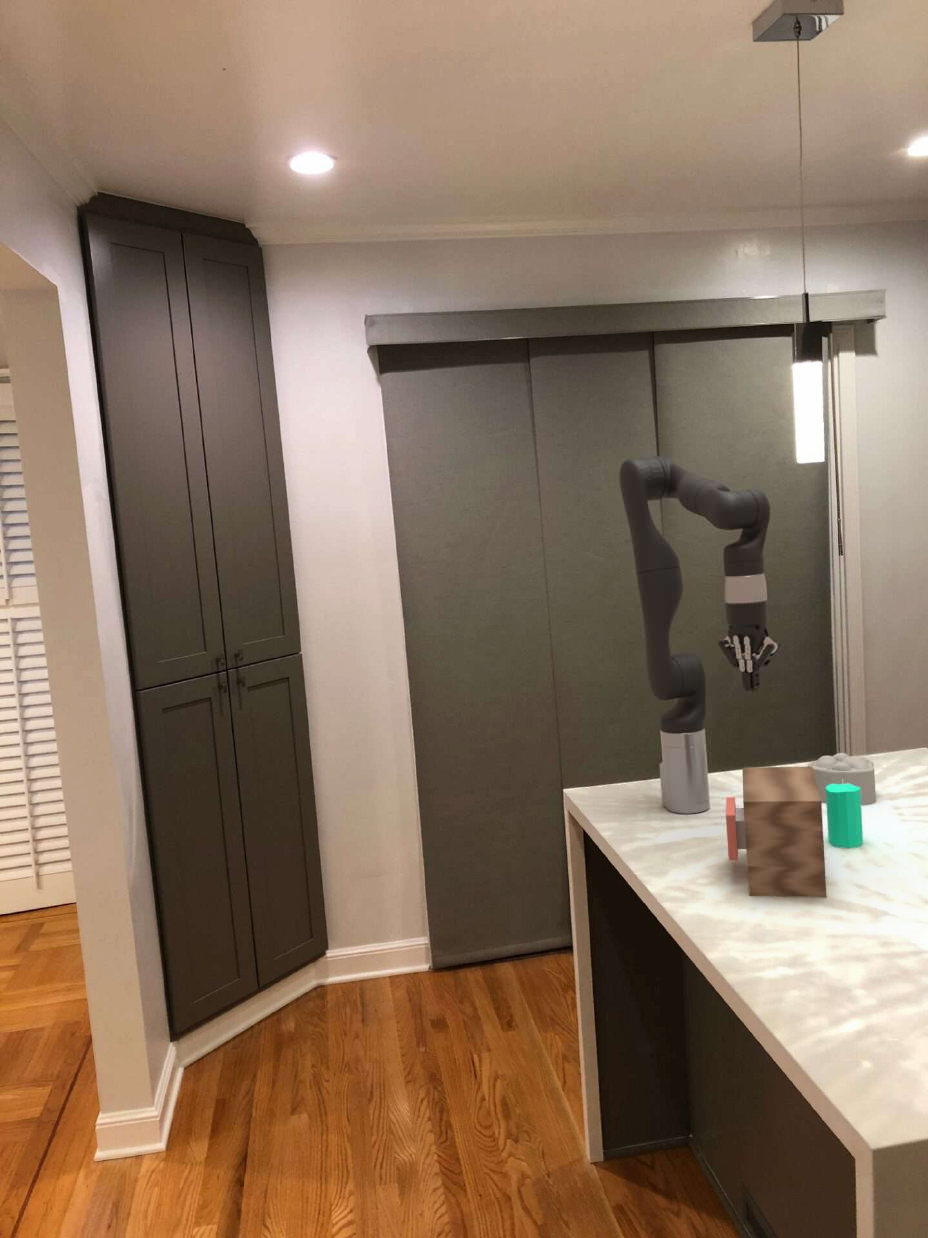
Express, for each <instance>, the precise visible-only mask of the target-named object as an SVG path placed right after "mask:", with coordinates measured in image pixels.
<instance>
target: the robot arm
mask: <svg viewBox="0 0 928 1238" xmlns="http://www.w3.org/2000/svg"><path fill="white" fill-rule="evenodd" d="M619 487H620V493H621V497H622V503H623V505H624V509H625V514H626V519H627V522H628V527H629V531H630V537H631V542H632V543H631V544H632V549H633V556H634V566H635V573H636V581H637V588H638V589H637V590H638V592H639V593H638V594H639V598H640V606H641V611H642V619H643V620H642V621H643V627H644V636H645V637H644V638H645V639H644V640H645V655H646V657H645V658H646V659H645V660H646V669H647V679H648V684H649V688H650V690H651V692H652V694H653V696H654V697H655V699H658V700H660V701H670V700H674V699H677V701H676V703H675V704H674V705H673V706H672V707H671V708H670V709H669V710H668V711H666V712H665V713H663V714H662V715H661V716H660V718H659V731H660V743H661V758H662V762H659V775H660V788H661V789H660V790H661V803H662V805H661V806H662V807H665V808H666V810H668V811H669V812H672V813H677V814H696V813H701V812H705V811H707V810H709V809H710V808H711V803H710V801H711V800H710V786H709V774H708V772H709V770H708V757H707V744H706V743H707V742H706V730H705V720H706V716H707V680H706V679H707V677H706V672H705V667H704V664H703V661H702V659H701V658H700V657H699V655H697V654H696V653H695V652H690V651H689V652H680V653H674V654H671V651H670V632H671V629H672V628H671V627H672V624H673V621H674V618H675V615H676V614H677V611H678V609H679V607H680V603H681V600H682V598H683V593H684V585H683V577H682V569H681V563H680V562H681V561H680V560H679V557H678V555H677V553H676V552H675V550H674V548H672V546H671V545H670V544H669V542H668V541H667V540H666V538H665V537H664V536H663V535H662V533H661V532H660V531H659V529H658V528H657V526H656V525H655V523H654V519H653V518H652V515H651V511H650V507H649V503H648V502H650V501H658V500H659V501H660V500H663V499H678V502H679V503H680V505H681V506H682V507H683V508H684V509H686V510H687V511H689V512H690V513H692V514H695V515H697V516H700V517H703V518H705V519H706V520H707V521H708V522H709V523H710V524H711V525H712V526H713V527H715V528H716V529H719V530H725V531H734V530H741V533H740V536H739V538H738V539H737V540H736V541H734V542H731V543H728V544H727V545H726V546H724V548H723V555H722V556H723V569H724V584H723V585H724V587H723V590H724V609H725V622H726V625H727V626H728V630H727V636H726V637H725V638H724V639H722V640H719V641H718V646H719V648H720V649H721V650H722V652H723V653H724V656H725V657H726V658H727V660H728V661H729V663H730V665H731V666H732V667H733V668H738V669H739V670H740V672H741V677H742V678H741V679H742V686H743V688H744V691H745V692H750V693H753V692H757V691H759V689H760V686H761V683H760V681H761V680H760V671H761V670H763V669H765V668H768V667H769V666H770V664H771V663H772V661H773V659H774V658H775V656H776V655H777V653H778V651H779V650H780V648H781V643H780V642H779V641H775V642H774V641H773V639H771V637H770V632H769V630H768V628H767V627H768V626H767V625H768V622H769V610H768V607H769V605H768V593H767V591H768V590H767V589H768V588H767V581H766V578H765V576H766V575H765V567H764V566H765V565H764V563H765V562H764V546H765V542H766V537H767V532H768V527H769V523H770V517H771V506H770V501H769V498H768V497H767V495H766V494H765V493H764V492H763V491H761V490H760V489H755V488H753V489H743V490H733V491H731V489H730V488H729V487H728V486H726V485H725V484H723V483H721V482H719V481H716V480H715V481H714V480H711V479H710V478H709V479H708V478H705V477H701V476H698V475H696V474H694V473H692V472H690V471H689V470H687V469H685V468H684V467H682V466H680V465H679V464H678V463H676V462H674V461H673V460H671V459H670V458H667V457H664V456H645V457H644V456H643V457H632V458H627V459H625V460H624V461H623V462H622V464H621V465H620V469H619Z"/></svg>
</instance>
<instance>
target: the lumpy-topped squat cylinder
mask: <svg viewBox="0 0 928 1238" xmlns="http://www.w3.org/2000/svg"><path fill="white" fill-rule="evenodd" d="M807 766H812V768H813V772H814V776H815V780H816V783H817V787H818V791H819V794H820V798H821V804H825V803H826V805H827V801H826V787H827V786H828V785H830V784H842V779H843V784H847V783H849V784H852V785H854V786H856V787H860V791H861V806H868V805H874V804H876V802H877V797H876V796H877V795H876V780H875V779H876V777H875V776H876V775H875V767H874V762H873V761H872V760H870V759H867V758H866V757H865V756H861V755H854V756H850V755H848V754H847V753H845V752H838V753H836V754H834V755H822V756H820V757H819V758H818V759H817V760H812V761H811V762H809V763H808V764H807Z"/></svg>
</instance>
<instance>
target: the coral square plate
mask: <svg viewBox="0 0 928 1238" xmlns="http://www.w3.org/2000/svg"><path fill="white" fill-rule="evenodd" d="M725 799H726V800H725V801H726V802H725V824H726V835H727V836H726V837H727V838H726V839H727V849H728V850H727V854H728V861H729V862H738V861H739V850H746V836H745V821H744V807H737V804H736V797H735V796H734V797H731V796H729V797H727V796H726V798H725Z"/></svg>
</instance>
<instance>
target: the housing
mask: <svg viewBox="0 0 928 1238" xmlns="http://www.w3.org/2000/svg"><path fill="white" fill-rule="evenodd" d="M742 798H743V799H742V800H743V801H742V803H743V808H744V821H745V836H746V849H745V850H746V864H747V865H746V867H747V882H748V896H754V897H755V896H756V897H757V896H758V897H760V896H761V897H763V896H764V897H800V898H801V897H805V898H806V897H809V898H815V897H816V898H827V881H826V880H827V879H826V864H825V863H826V862H825V860H826V859H825V845H824V844H825V843H824V827H823V826H824V825H823V823H824V822H823V806H822V804H823V803H821V798H820V794H819V791H818V787H817V783H816V780H815V776H814V772H813V768H812V766H808V765H807V766H767V767H765V766H762V767H761V766H759V767H757V766H756V767H753V766H752V767H742Z"/></svg>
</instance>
